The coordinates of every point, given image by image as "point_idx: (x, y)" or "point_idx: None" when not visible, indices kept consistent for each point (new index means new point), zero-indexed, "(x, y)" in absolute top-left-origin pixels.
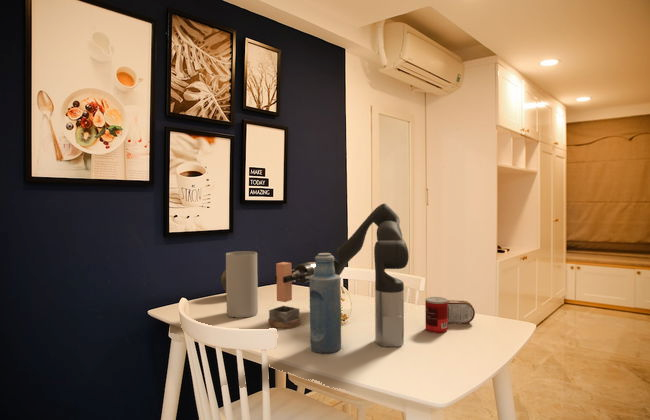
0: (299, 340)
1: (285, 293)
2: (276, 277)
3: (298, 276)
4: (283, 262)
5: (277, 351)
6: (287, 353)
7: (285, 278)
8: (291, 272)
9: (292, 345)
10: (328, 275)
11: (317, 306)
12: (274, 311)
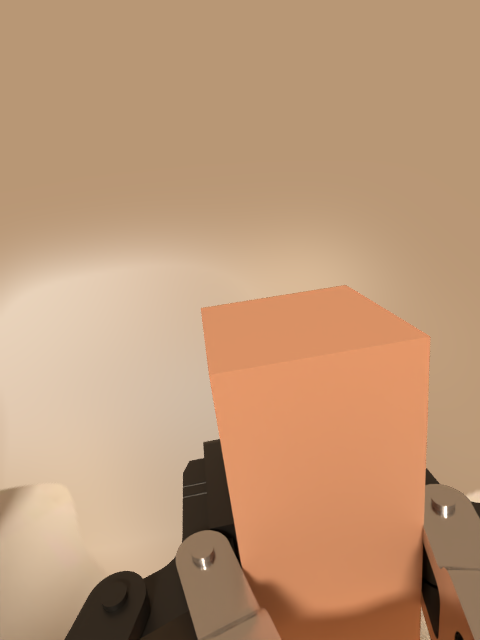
0: (31, 636)
1: None
2: None
3: (88, 622)
4: (379, 330)
5: (68, 502)
6: (26, 514)
7: (204, 462)
8: (236, 532)
9: (39, 569)
10: None
11: None
12: None
